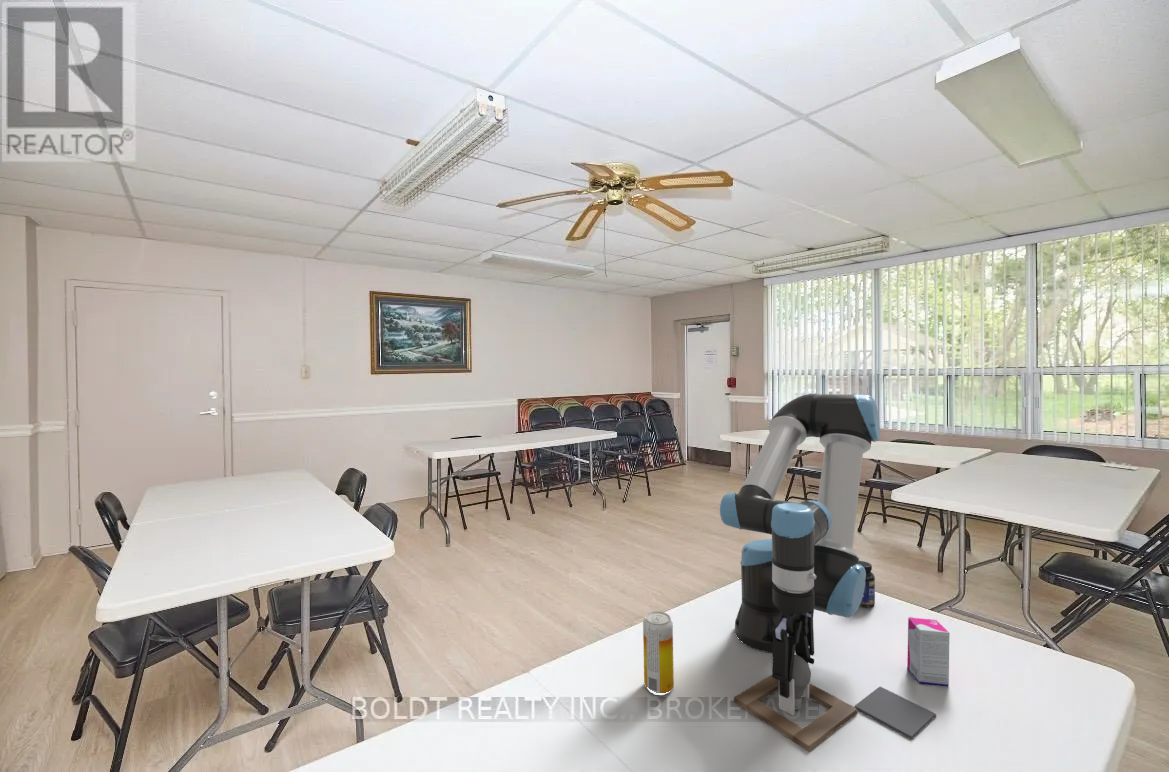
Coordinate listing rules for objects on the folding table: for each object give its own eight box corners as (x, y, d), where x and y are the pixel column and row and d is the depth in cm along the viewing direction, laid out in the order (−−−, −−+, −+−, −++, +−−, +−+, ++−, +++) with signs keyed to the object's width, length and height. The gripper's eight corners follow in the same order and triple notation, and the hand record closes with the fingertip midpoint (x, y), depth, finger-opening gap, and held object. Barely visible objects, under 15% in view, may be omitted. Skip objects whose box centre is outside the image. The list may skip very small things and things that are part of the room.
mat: (854, 708, 97) (854, 705, 97) (879, 689, 102) (879, 686, 102) (911, 739, 88) (911, 736, 88) (935, 716, 94) (935, 713, 94)
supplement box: (950, 687, 102) (950, 632, 102) (918, 684, 104) (918, 630, 103) (936, 670, 108) (936, 618, 108) (906, 668, 109) (906, 616, 109)
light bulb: (811, 720, 94) (811, 668, 93) (777, 712, 96) (776, 661, 96) (810, 700, 99) (810, 651, 99) (778, 693, 101) (778, 645, 101)
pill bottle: (874, 610, 135) (874, 569, 135) (848, 604, 138) (848, 565, 138) (875, 600, 140) (875, 562, 140) (851, 595, 144) (850, 558, 143)
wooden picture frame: (733, 701, 99) (733, 696, 99) (782, 672, 108) (782, 668, 108) (809, 751, 86) (809, 745, 86) (857, 713, 95) (857, 708, 95)
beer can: (676, 683, 106) (675, 613, 105) (669, 700, 100) (668, 627, 100) (649, 676, 108) (648, 608, 108) (640, 693, 103) (639, 621, 102)
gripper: (790, 609, 87) (792, 737, 88) (832, 576, 100) (833, 688, 101) (750, 595, 93) (752, 717, 94) (795, 566, 106) (796, 672, 107)
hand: (794, 702), depth 97 cm, fingers closed on light bulb, 6 cm apart
